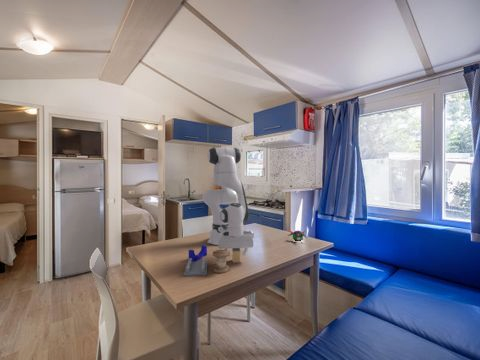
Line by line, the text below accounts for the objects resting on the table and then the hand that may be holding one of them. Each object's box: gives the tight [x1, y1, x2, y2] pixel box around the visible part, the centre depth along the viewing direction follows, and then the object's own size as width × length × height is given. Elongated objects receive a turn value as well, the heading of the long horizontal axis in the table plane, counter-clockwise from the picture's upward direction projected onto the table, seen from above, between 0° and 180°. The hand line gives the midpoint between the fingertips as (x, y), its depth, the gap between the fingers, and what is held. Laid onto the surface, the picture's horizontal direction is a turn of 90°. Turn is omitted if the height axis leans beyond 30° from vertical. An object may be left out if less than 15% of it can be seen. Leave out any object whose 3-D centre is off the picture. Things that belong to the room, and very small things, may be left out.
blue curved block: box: [188, 244, 208, 262], centre depth 136 cm, size 12×4×6 cm, turn 143°
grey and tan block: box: [231, 248, 241, 263], centre depth 131 cm, size 4×4×7 cm
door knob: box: [212, 249, 231, 274], centre depth 119 cm, size 9×9×9 cm
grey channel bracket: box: [183, 257, 208, 277], centre depth 120 cm, size 16×11×4 cm
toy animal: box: [287, 229, 308, 241], centre depth 168 cm, size 11×15×10 cm
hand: (236, 255), depth 131 cm, fingers open, 8 cm apart
